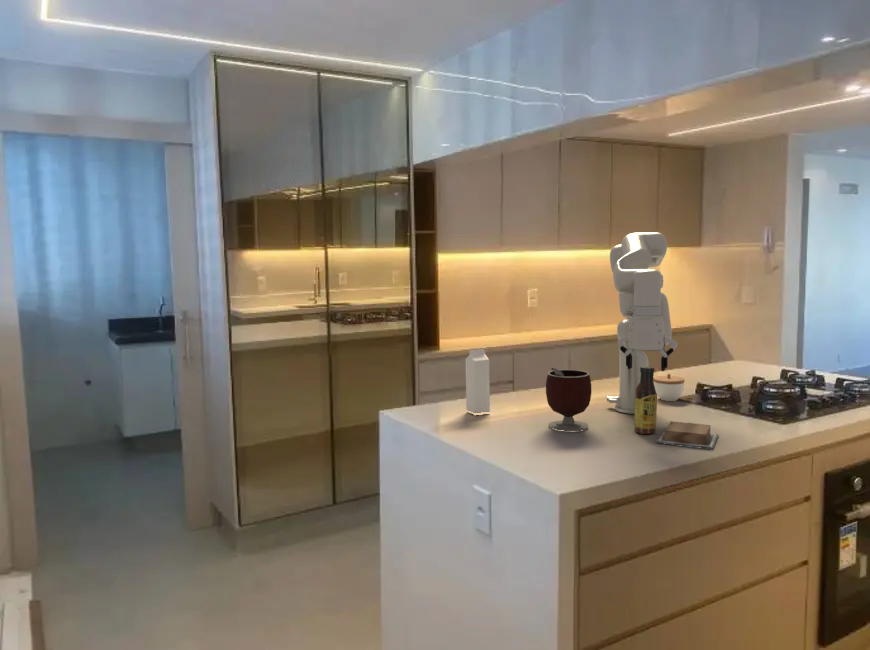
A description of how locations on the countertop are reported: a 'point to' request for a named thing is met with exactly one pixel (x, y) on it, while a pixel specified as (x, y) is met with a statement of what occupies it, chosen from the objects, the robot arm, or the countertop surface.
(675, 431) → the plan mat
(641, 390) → the sauce bottle
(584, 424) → the mate gourd
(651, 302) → the robot arm
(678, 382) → the lidded jar
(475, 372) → the milk
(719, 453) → the countertop surface
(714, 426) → the countertop surface
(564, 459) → the countertop surface
